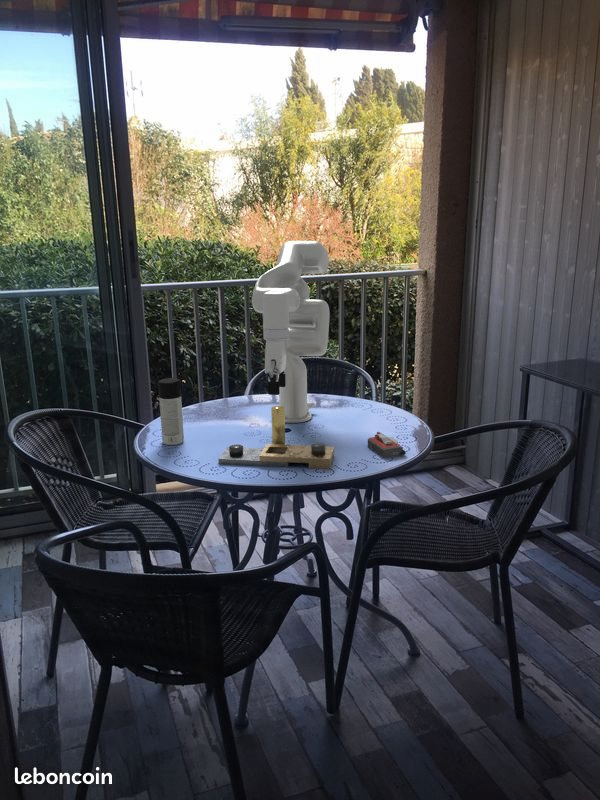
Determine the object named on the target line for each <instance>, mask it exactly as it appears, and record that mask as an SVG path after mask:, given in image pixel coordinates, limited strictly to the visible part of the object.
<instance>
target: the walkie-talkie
mask: <svg viewBox="0 0 600 800" xmlns="http://www.w3.org/2000/svg"><path fill="white" fill-rule="evenodd" d="M367 448H368V449H370V450H372V451H373V452H374V453H376V454H377V455H379V456H380V457H381V458H383V459H388V458H397V457H403V456H404V455H406V454H407V452H406V451H405V450H404V447H403V446H402V445H400V444H399V441H398V440H397V439H395V438H394V436H391V437H388V436H387V435H386V434H384V433H382V432H380V431H377V432H376V434H374V437H373V436H371V437H369V438H367Z"/></svg>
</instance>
